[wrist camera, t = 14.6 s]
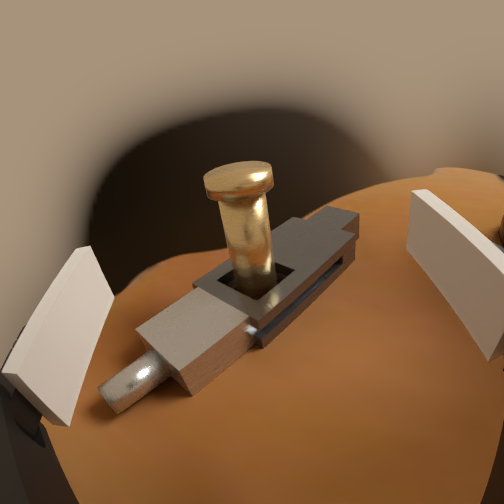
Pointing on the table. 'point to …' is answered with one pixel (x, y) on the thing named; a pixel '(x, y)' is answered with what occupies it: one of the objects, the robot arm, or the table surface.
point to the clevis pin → (246, 223)
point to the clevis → (236, 309)
